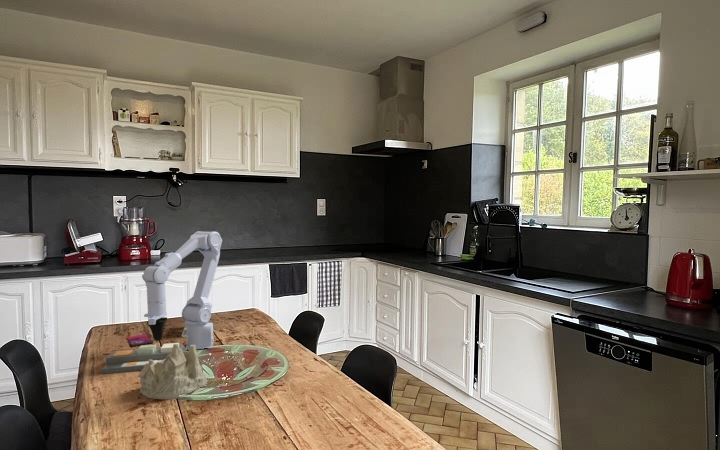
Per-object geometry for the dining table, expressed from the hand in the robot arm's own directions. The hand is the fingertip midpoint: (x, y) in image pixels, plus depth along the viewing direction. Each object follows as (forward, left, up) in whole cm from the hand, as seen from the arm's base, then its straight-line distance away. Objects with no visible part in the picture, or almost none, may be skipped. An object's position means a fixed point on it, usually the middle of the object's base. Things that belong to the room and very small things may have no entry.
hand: (158, 339), depth 151 cm
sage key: (+4, 0, -4) cm, 6 cm away
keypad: (+4, 0, -7) cm, 8 cm away
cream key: (-4, 0, -4) cm, 6 cm away
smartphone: (+13, -27, -8) cm, 31 cm away
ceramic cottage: (-10, +25, -8) cm, 28 cm away
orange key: (+11, 0, -5) cm, 13 cm away
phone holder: (-7, -36, -8) cm, 37 cm away
